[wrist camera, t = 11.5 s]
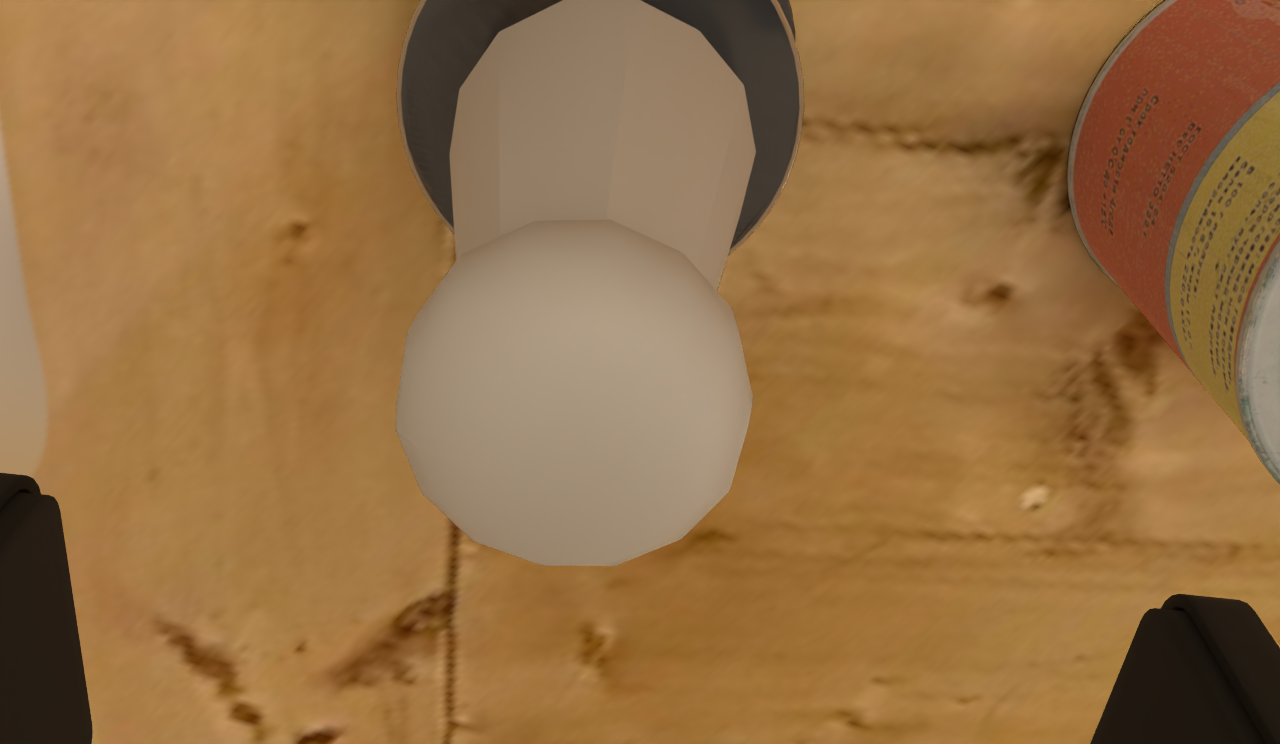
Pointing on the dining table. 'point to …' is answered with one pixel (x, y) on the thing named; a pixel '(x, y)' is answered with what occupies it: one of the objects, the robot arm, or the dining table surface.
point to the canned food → (1194, 195)
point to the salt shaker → (585, 291)
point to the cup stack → (712, 3)
